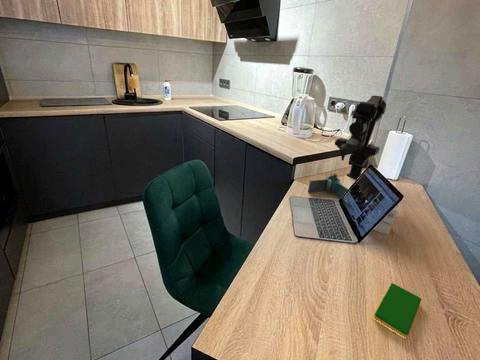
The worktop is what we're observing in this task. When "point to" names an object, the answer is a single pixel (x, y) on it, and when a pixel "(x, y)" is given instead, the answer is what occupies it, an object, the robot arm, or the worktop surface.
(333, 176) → the hinge pin
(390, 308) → the dish sponge
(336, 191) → the hinge
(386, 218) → the light bulb box
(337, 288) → the worktop surface
